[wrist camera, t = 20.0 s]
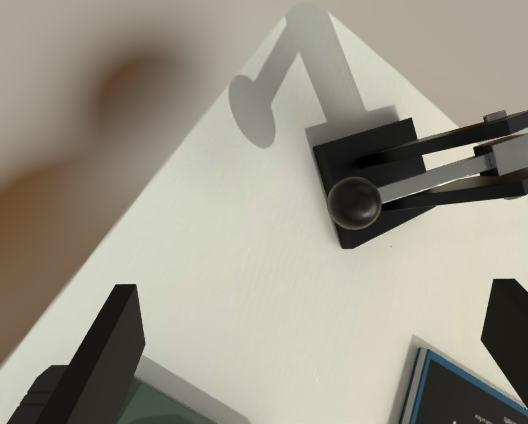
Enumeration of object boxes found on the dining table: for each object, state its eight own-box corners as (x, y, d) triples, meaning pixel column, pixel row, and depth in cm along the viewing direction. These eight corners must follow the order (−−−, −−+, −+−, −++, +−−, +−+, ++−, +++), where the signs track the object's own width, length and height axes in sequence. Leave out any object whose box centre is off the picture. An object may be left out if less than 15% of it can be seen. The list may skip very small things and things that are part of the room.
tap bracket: (342, 249, 38) (503, 246, 26) (312, 147, 37) (465, 97, 25) (424, 208, 44) (583, 190, 33) (401, 120, 43) (555, 71, 32)
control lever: (330, 232, 32) (343, 239, 28) (316, 185, 31) (327, 186, 28) (513, 174, 32) (547, 174, 29) (501, 127, 32) (534, 121, 29)
